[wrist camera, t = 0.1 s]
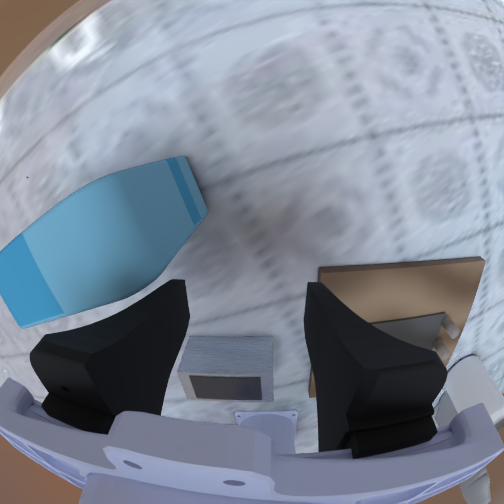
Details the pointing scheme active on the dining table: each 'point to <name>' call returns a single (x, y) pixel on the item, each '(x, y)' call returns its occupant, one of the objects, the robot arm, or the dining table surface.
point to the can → (475, 389)
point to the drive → (228, 368)
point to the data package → (101, 242)
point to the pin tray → (410, 299)
